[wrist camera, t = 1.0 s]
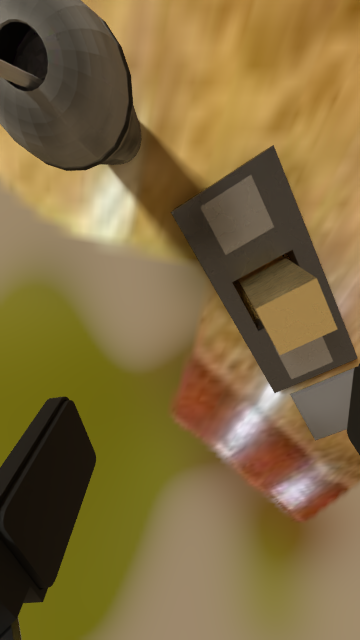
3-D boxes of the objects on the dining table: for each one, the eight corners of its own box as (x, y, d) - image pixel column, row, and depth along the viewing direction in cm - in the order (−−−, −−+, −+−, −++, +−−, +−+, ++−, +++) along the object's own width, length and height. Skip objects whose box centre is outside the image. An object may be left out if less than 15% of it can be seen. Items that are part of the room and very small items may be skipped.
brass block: (280, 254, 29) (316, 278, 20) (297, 293, 30) (337, 329, 22) (237, 277, 30) (255, 309, 22) (256, 313, 32) (279, 355, 23)
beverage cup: (160, 91, 23) (57, -285, 5) (152, 185, 26) (71, 166, 8) (75, 77, 23) (-359, -368, 5) (77, 174, 26) (-182, 127, 8)
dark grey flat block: (265, 149, 25) (273, 144, 22) (346, 347, 33) (358, 358, 31) (172, 210, 27) (170, 212, 25) (269, 380, 35) (275, 393, 33)
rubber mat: (358, 366, 34) (361, 368, 33) (377, 413, 37) (380, 416, 37) (290, 394, 36) (291, 397, 36) (313, 436, 39) (315, 440, 39)
